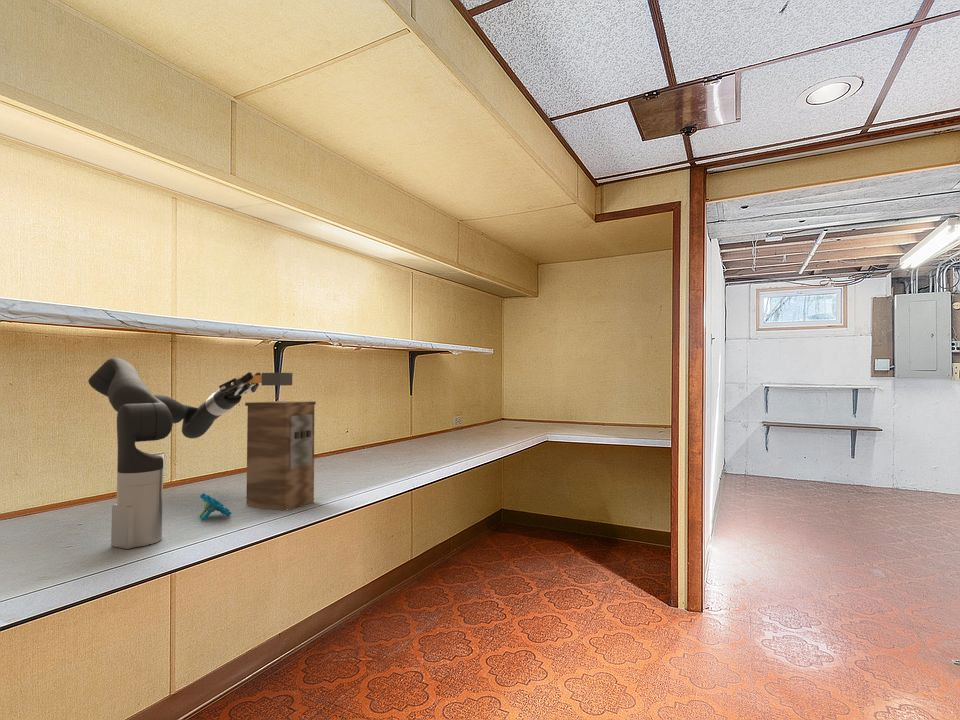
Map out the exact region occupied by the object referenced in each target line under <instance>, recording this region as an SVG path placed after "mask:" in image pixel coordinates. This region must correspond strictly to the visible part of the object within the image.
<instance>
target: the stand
mask: <svg viewBox="0 0 960 720" xmlns="http://www.w3.org/2000/svg"><path fill="white" fill-rule="evenodd" d="M315 405H317V404H316V401H307V400H305V401H304V400H303V401H298V400H297V401H296V400H295V401H294V400H292V401H291V400H283V401H282V400H275V401H273V400H272V401H271V400H270V401H253V402H244V406H246V407H247V418H246V419H247V422H246V423H247V425H246V426H247V427H246V429H247V432H246V436H247V439H246V496H245V497H246V501H245V502H246V504H245V505H248V506H247V507H252V506H253V507H254V508H261V509H268V510H269V509H270V510H275V509H278V510H277V511H283V510H286V511H288V510H287V509H289V510H291V509H290V508H292V509H294V508H293V507H296V508H298V507H297V506H299V507H302V506H305V505H308V504H311V503H310V502H312V503H314V502H315V488H314V487H315ZM313 501H314V502H313ZM307 503H308V504H307ZM304 504H305V505H304ZM301 505H302V506H301Z"/></svg>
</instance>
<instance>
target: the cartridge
mask: <svg viewBox="0 0 960 720" xmlns="http://www.w3.org/2000/svg"><path fill="white" fill-rule="evenodd" d="M244 375H245V374H244ZM244 375H241V377H243V376H244ZM252 376H253V378H252V379H251V380H250V381H248V382H247V383H250V384H251V383H258V384H261V386H293V372H261V375H255V374H252Z"/></svg>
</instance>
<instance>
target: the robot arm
mask: <svg viewBox="0 0 960 720" xmlns="http://www.w3.org/2000/svg"><path fill="white" fill-rule="evenodd" d="M252 375H253V374H252V372H248V371H247V373H246V374H244V376H243V377H242V376H241V377H238V378H232V379H230V380H229V381H226V382H224V383H223V384H220V385H218V387H219V388H218V389H217V390H216V391H215V392H213V393H212V394H211V395H209V397H208V398H207V399H206V400H205V401H204V402H202V403H201V404H200V405H199V406H198V407H195V406H191V405H187V404H182V403H181V402H179V401H177V400H176V399H174V398H172V397H171V396H169V395H165V394H161V393H159V394H158V393H156V394H155V393H152V392H151V390H150V388H148V386H147V384H145V382H143V381H142V379H141V377H140V374H139V372H138V371H137V369H136V368H135V367H134V366H133V365H132V364H131V363H129V362H128V361H127V360H124V359H123V358H119V357H112V358H109V359H107V360H106V361H105V362H103V364H101V366H100V367H98V369H97V370H96V371H94V372H93V373H92V375H91V376H90V377H89V378H88V379H87V380H88V384H89V386H90V387H91V388H92V389H94V390H95V391H96V392H98V393H100V394H101V395H103V396H106V397H107V399H108V401H109V403H110V404H111V407H112V408H113V409H114V410H115V411H116V412H117V413H116V414H117V415H116V434H117V435H116V437H117V469H116V471H117V473H116V503H114V504H112V506H111V528H110V529H111V530H110V531H111V534H110V535H111V536H110V537H111V538H110V546H111V547H115V548H119V549H124V550H128V549H132V548H140V547H145V546H149V544H150V545H152V544H154V543H155V544H156V543H158V542H160V541H162V539H163V503H164V502H163V499H164V498H163V495H164V493H163V492H164V491H163V490H164V458H163V457H162V456H161V455H157V454H154V453H152V454H151V453H148V452H146V451H142V450H140V449H139V448H137V447H136V443H140V442H141V443H142V442H153V441H160V440H164V439H165V438H167V437H168V436H169V435H170V433H171V432H172V429H173V424H178V423H180V422H181V421H182V426H181V433H182V435H183V436H184V437H185V438H188V439H197V438H200V437H202V436H203V435H204V434H205V433H207V431H208V430H209V429H210V428H211V427H212V425H213V424H214V422H215V421H216V420H217V419H219V417H221V416H223V415H224V414H226V413H228V412H229V411H230V410H231V409H233V407H235V406H237V404H239V403H240V402H241V400H242V397H243V396H244V395H245V394H247V393H248V392H251V393H253V394H254V393H255V392H256V391H257V389H258V387H259V385H260V383H247V382H248V381H250V380H251V379H252V378H253V376H252ZM254 375H262V372H256V373H255V374H254Z"/></svg>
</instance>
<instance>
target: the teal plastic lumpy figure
mask: <svg viewBox="0 0 960 720" xmlns="http://www.w3.org/2000/svg"><path fill="white" fill-rule="evenodd" d="M199 498H200V499H202V501H203V502H204V503H205V504H204V507H203V511H202V512H201V513H200V514H199V515H198V517H199V518H200V519H201V520H202V521H203V522H205V521H206V519H207V518H208V517H209V516H210V515H211V514H212V513H214V512H215V511H216V512H219V513H221V514H222V515H224V516H227V517H229V516H231V515H232V512H231V511H230V509H229V508H228V507H225V505H224V504H223V503H221V502H220V501H218V500H217V499H216V498H214V497H211V496H210V495H209V494H205V493H204V492H202V493H201V494H200V495H199ZM204 520H205V521H204Z"/></svg>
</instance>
